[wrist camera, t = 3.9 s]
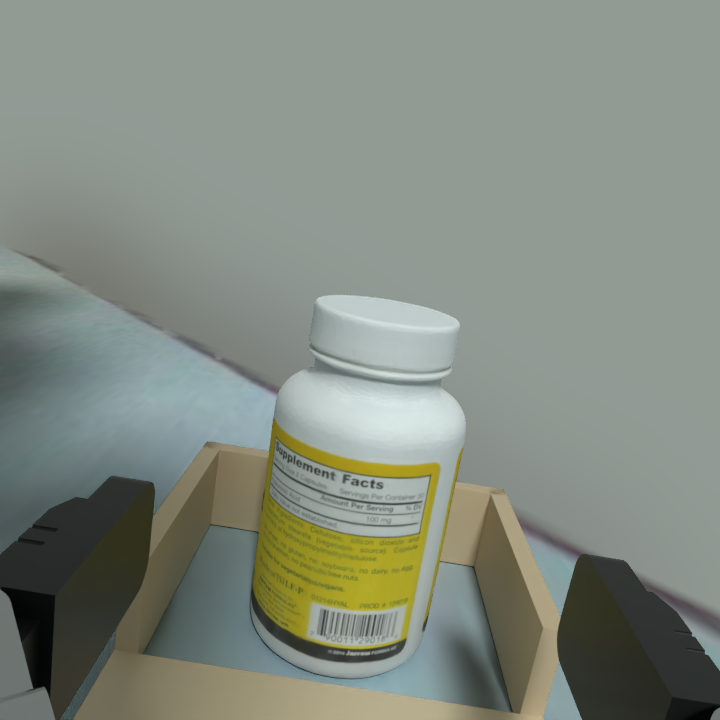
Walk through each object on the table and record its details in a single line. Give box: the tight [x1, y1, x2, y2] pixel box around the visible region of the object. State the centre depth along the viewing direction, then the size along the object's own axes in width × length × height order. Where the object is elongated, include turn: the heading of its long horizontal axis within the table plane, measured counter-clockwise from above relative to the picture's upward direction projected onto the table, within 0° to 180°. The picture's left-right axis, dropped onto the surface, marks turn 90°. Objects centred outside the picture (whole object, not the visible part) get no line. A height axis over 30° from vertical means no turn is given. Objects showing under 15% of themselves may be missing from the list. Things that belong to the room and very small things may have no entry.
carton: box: [73, 441, 561, 720], centre depth 16 cm, size 17×11×3 cm
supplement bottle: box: [251, 295, 466, 679], centre depth 18 cm, size 5×5×10 cm
